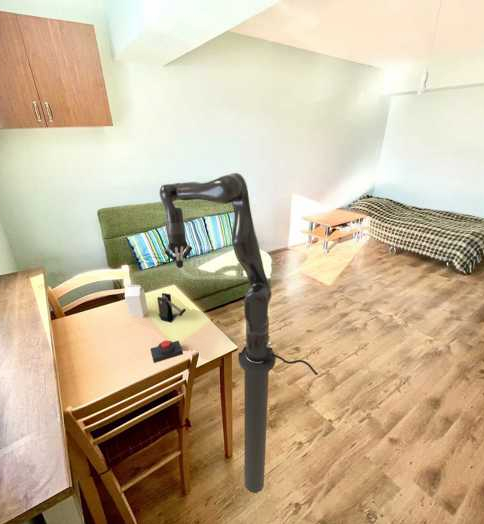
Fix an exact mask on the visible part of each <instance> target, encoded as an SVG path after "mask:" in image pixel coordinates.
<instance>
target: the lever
mask: <svg viewBox="0 0 484 524" xmlns="http://www.w3.org/2000/svg"><path fill="white" fill-rule="evenodd" d="M161 297H162V298H166V301H167V303H168V304H169V305H170V306H172V309H174V310H176V311H177V312H178V313H177V314H178V315H177V316H179V317H182V316H183V315H184V313H185V312H186V311H187V309H186V308H183V309H181V308H180V307H179V306H177V305H175V304H174V303H173V302H172V301H171V302H170V301H169V300H168V297H166V296H165V295H163V296H162V295H161Z"/></svg>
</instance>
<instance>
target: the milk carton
mask: <svg viewBox="0 0 484 524" xmlns="http://www.w3.org/2000/svg"><path fill="white" fill-rule="evenodd" d="M124 299H125V304H126V308H127V313H128V316H129V317H131V318H145V316H146V315H147V313H148V312H149V309H148V303H147V297H146V294H145V289H144V287H142V286H141V284H125V289H124Z"/></svg>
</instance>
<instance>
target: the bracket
mask: <svg viewBox="0 0 484 524" xmlns="http://www.w3.org/2000/svg"><path fill="white" fill-rule="evenodd" d="M163 295H165V296H166V297H168V300H169V301H170V302H171V303H172V295H171V293H165V292H162V293H161V296H157V299H156V300H157V307H158V312H159V314H158V317H159V319H160V320H161V321H163V322H167V323H173V322H174V320H176V318H177V317H178V316H179V315H178V314H179V313H173V307H172V306H170V305H169V304H168V303H167V301H166V298H162V296H163Z"/></svg>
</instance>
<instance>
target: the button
mask: <svg viewBox="0 0 484 524" xmlns="http://www.w3.org/2000/svg"><path fill="white" fill-rule="evenodd" d="M170 341H171V340H163V341H162V343H161V342H160V343H161V347H162V349H168V348H170Z"/></svg>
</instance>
